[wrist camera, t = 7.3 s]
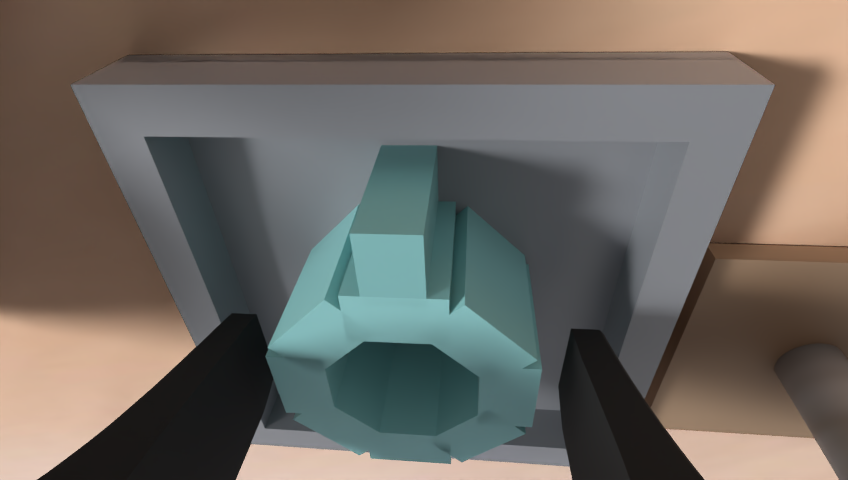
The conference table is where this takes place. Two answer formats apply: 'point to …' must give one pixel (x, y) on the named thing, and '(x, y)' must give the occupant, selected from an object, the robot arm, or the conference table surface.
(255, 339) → the robot arm
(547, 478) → the conference table surface
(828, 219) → the conference table surface
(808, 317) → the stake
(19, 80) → the conference table surface
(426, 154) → the ring
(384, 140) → the tray
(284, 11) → the conference table surface
